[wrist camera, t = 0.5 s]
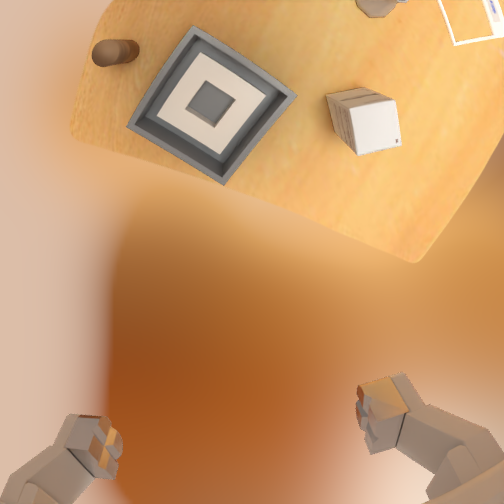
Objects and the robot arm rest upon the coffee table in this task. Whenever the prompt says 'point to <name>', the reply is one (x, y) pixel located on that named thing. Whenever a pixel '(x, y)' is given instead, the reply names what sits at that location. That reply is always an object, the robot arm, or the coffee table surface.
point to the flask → (377, 7)
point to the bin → (209, 105)
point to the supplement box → (365, 120)
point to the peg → (114, 52)
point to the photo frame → (494, 15)
